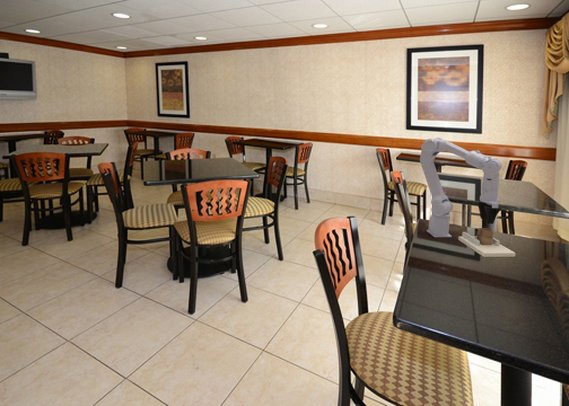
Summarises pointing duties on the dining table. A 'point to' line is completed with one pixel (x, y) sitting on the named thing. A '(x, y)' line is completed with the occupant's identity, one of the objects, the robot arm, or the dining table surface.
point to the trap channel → (486, 247)
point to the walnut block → (485, 236)
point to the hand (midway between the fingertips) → (486, 221)
